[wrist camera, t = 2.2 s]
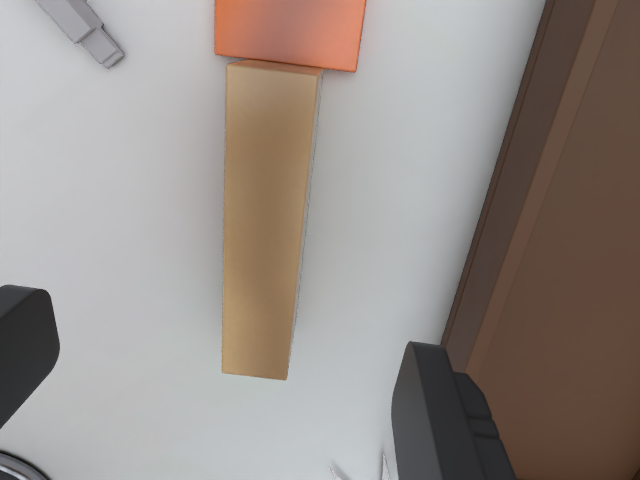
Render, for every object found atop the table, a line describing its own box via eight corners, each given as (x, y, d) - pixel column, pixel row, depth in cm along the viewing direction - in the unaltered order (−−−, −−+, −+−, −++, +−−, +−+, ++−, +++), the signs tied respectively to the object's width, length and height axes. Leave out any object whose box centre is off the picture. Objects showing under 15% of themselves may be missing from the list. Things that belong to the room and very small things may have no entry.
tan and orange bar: (217, 314, 24) (192, 370, 20) (220, -194, 15) (174, -283, 11) (319, 327, 24) (315, 384, 20) (389, -171, 15) (408, -252, 11)
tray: (403, 462, 29) (412, 519, 26) (577, -102, 15) (646, -143, 12) (622, 488, 29) (660, 548, 26) (990, -47, 15) (1176, -73, 12)
